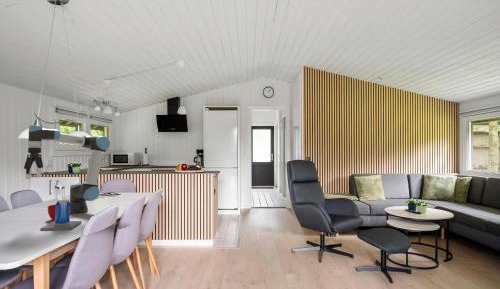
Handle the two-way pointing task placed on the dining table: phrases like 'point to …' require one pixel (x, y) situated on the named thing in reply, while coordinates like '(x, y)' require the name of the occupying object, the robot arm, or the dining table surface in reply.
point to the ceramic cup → (52, 211)
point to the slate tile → (63, 227)
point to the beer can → (62, 212)
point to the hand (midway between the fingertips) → (33, 177)
